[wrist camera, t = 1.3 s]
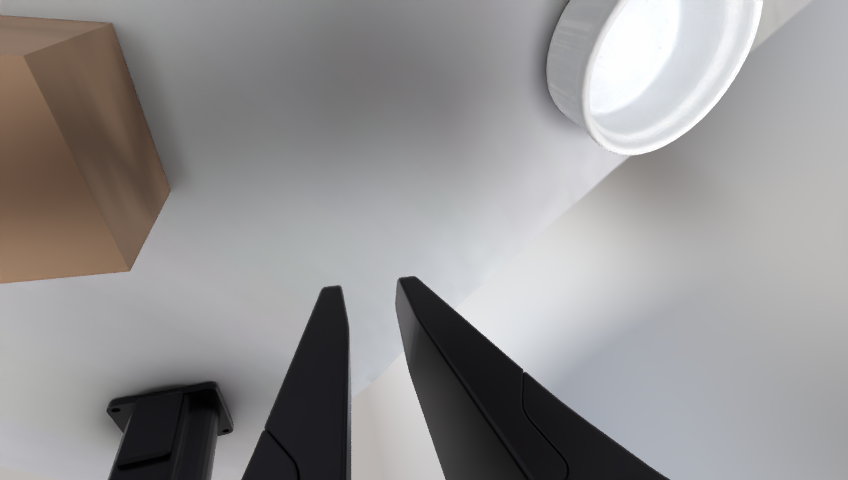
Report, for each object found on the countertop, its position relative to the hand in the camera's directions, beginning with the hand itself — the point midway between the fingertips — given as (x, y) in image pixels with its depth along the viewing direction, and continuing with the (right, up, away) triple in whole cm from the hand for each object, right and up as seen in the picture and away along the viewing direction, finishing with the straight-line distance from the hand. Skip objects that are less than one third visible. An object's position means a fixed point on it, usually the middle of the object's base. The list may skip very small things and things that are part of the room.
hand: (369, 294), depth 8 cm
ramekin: (+11, +12, +11) cm, 20 cm away
